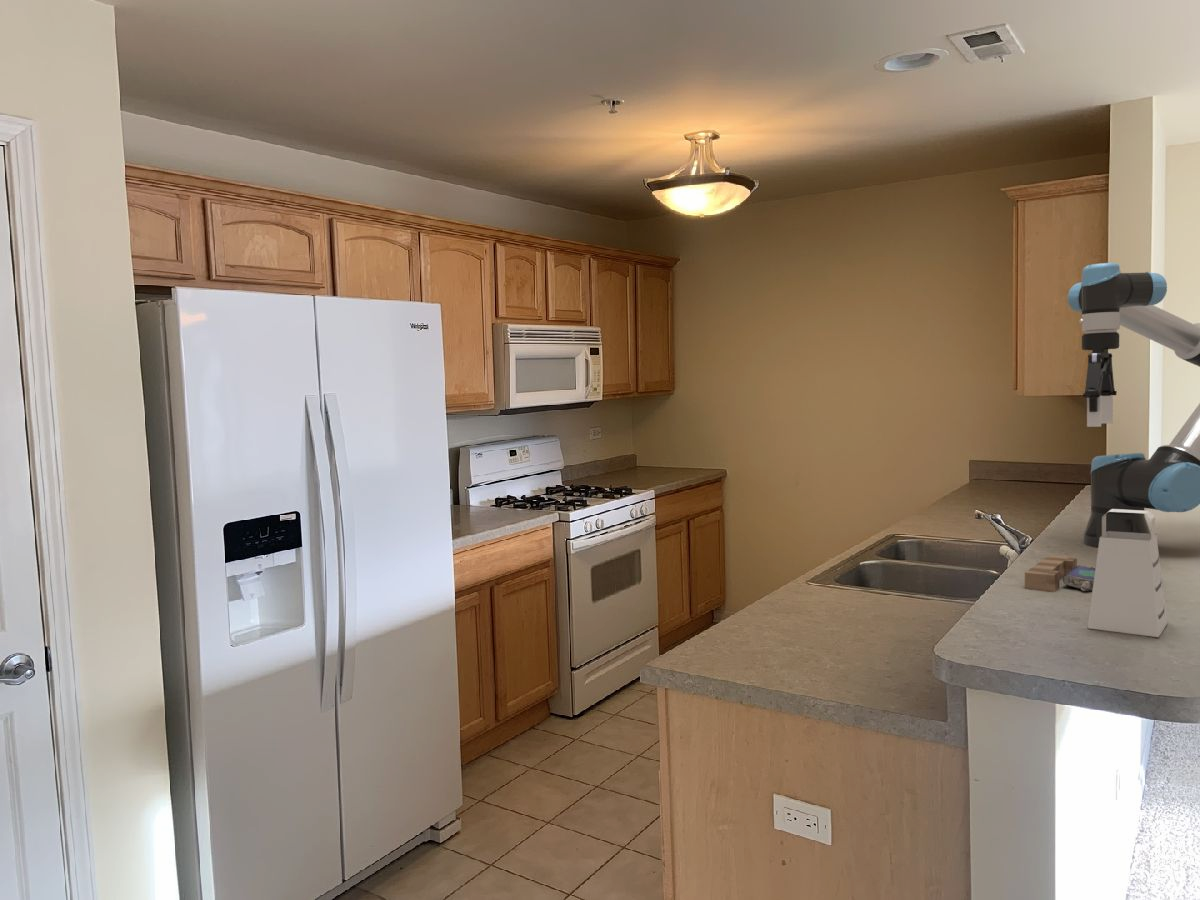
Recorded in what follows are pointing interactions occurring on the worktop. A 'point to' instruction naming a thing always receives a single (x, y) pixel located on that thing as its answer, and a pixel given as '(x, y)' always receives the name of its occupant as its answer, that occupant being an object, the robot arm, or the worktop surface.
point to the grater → (1128, 583)
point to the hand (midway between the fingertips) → (1100, 425)
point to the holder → (1049, 573)
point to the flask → (1080, 578)
